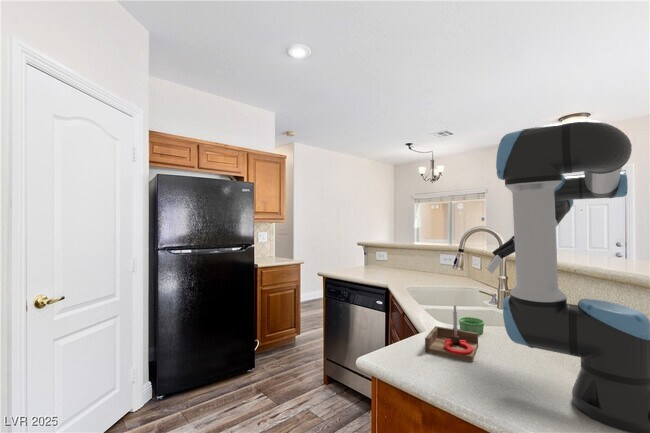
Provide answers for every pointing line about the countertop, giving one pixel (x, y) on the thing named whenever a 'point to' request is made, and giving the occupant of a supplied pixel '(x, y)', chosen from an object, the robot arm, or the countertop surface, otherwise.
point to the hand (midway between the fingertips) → (504, 273)
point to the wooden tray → (437, 341)
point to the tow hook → (457, 339)
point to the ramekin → (471, 324)
